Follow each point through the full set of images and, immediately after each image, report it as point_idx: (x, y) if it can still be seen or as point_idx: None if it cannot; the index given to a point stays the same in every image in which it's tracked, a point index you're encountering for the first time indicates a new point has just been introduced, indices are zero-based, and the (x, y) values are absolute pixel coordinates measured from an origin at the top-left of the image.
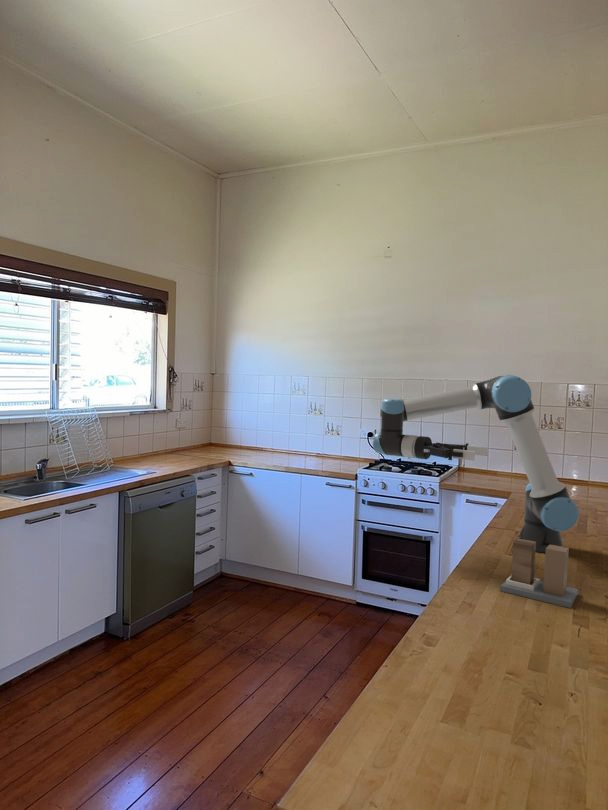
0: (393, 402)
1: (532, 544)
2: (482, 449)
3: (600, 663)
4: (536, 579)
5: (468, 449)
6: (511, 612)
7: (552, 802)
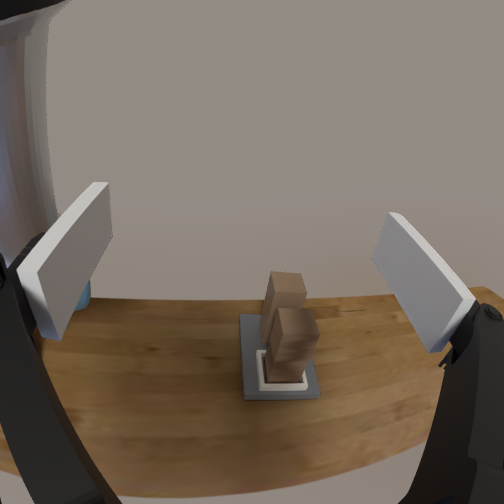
0: None
1: (302, 309)
2: (99, 212)
3: (392, 294)
4: (260, 353)
5: (53, 295)
6: (372, 366)
7: (499, 296)
